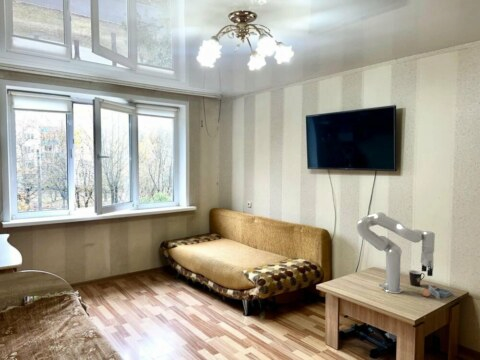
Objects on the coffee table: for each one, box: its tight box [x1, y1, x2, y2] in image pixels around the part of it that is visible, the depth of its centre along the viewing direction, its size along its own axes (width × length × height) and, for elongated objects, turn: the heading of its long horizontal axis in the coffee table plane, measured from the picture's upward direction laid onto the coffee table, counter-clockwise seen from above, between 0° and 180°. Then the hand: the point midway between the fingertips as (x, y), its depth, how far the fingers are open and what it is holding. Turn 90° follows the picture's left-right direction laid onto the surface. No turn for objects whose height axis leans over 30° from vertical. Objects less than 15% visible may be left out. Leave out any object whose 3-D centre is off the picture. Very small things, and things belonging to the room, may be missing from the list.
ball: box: [421, 288, 431, 298], centre depth 240 cm, size 5×5×5 cm
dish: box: [430, 286, 453, 298], centre depth 244 cm, size 10×10×2 cm
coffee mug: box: [408, 269, 425, 288], centre depth 261 cm, size 12×9×10 cm
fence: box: [428, 285, 441, 300], centre depth 243 cm, size 2×15×4 cm, turn 172°
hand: (426, 273), depth 239 cm, fingers open, 9 cm apart
